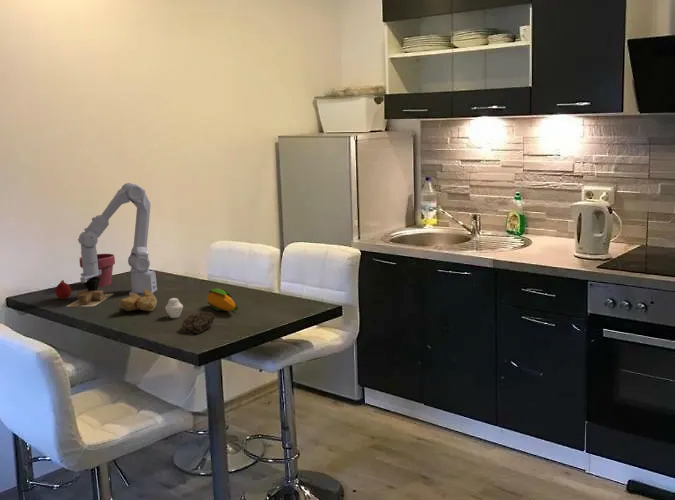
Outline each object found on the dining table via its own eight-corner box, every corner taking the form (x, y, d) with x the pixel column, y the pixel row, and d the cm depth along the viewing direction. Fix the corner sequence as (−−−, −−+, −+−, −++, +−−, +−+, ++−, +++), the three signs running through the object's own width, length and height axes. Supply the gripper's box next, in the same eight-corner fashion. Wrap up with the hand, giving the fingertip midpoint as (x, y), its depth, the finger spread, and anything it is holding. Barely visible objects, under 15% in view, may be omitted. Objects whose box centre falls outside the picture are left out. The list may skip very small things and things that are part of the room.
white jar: (174, 320, 255) (173, 300, 254) (162, 318, 258) (160, 298, 257) (187, 315, 260) (186, 296, 259) (174, 313, 263) (173, 294, 262)
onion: (66, 302, 285) (64, 282, 284) (53, 302, 286) (51, 282, 285) (74, 298, 291) (72, 278, 289) (61, 298, 292) (59, 278, 290)
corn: (220, 283, 275) (243, 293, 258) (222, 302, 276) (245, 313, 260) (201, 287, 271) (223, 298, 254) (204, 307, 272) (226, 318, 256)
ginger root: (147, 313, 259) (141, 292, 259) (111, 321, 265) (106, 300, 265) (172, 304, 274) (166, 283, 273) (138, 311, 280) (132, 291, 279)
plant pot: (91, 281, 319) (89, 253, 317) (122, 281, 317) (119, 252, 315) (76, 289, 305) (73, 259, 303) (107, 289, 303) (105, 259, 301)
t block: (103, 299, 285) (103, 290, 285) (94, 304, 277) (93, 295, 276) (81, 299, 286) (80, 290, 286) (71, 304, 278) (70, 296, 277)
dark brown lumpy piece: (197, 323, 251) (196, 308, 250) (220, 326, 246) (219, 312, 245) (173, 332, 241) (172, 317, 240) (196, 336, 236) (195, 321, 235)
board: (114, 295, 294) (114, 293, 294) (94, 307, 275) (93, 306, 275) (88, 295, 295) (88, 293, 295) (66, 307, 276) (66, 306, 276)
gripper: (88, 258, 292) (91, 291, 295) (71, 266, 278) (75, 301, 280) (105, 258, 291) (108, 291, 294) (89, 266, 277) (92, 301, 280)
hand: (93, 296), depth 287 cm, fingers closed
